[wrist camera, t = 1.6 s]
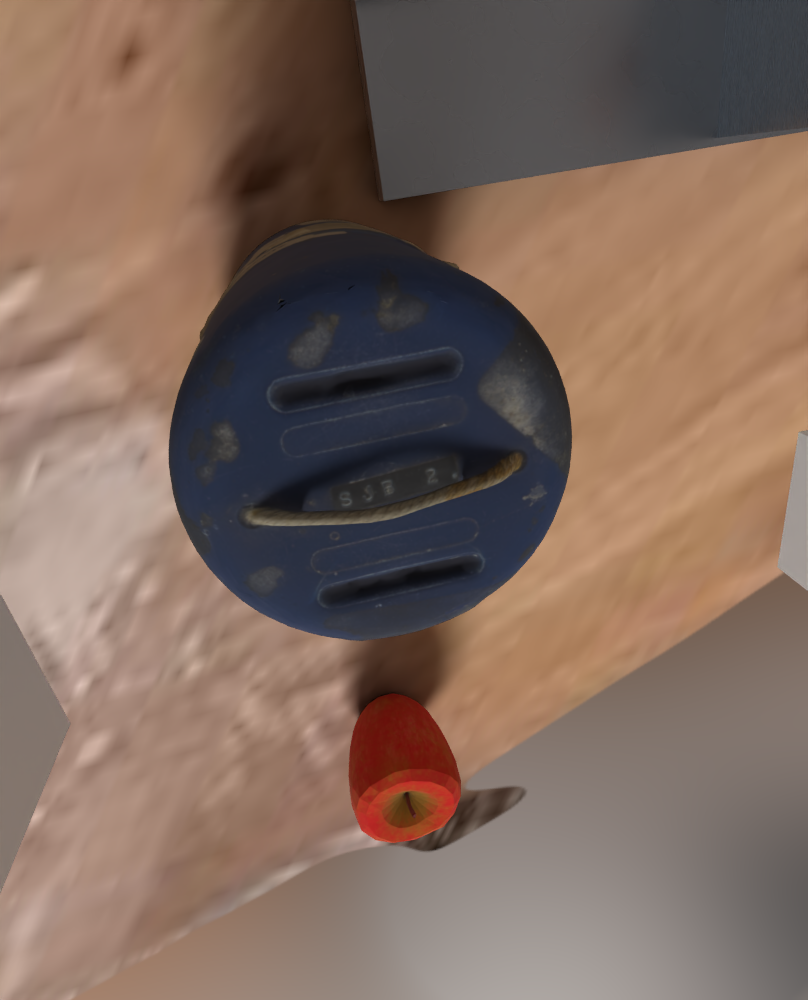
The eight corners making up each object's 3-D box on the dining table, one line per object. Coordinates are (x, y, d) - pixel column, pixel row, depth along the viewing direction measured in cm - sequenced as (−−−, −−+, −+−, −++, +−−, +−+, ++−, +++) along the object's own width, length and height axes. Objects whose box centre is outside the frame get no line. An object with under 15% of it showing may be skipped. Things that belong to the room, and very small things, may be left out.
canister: (222, 204, 26) (121, 229, 10) (446, 228, 28) (666, 282, 12) (225, 426, 30) (158, 698, 14) (421, 434, 32) (558, 682, 16)
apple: (407, 760, 42) (429, 868, 35) (323, 736, 40) (331, 846, 33) (456, 692, 40) (490, 793, 33) (371, 663, 38) (390, 765, 31)
